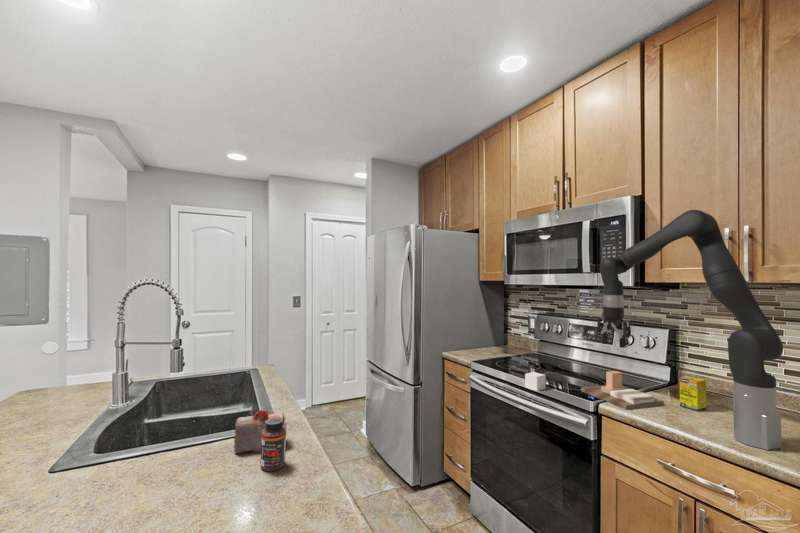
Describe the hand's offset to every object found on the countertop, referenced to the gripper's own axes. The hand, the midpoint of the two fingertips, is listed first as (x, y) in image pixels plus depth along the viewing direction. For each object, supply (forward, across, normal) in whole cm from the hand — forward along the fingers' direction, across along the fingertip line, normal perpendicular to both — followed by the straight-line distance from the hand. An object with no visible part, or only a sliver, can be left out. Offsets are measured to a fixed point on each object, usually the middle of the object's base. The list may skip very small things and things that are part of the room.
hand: (613, 345), depth 150 cm
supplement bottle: (+20, -22, +131) cm, 134 cm away
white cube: (+21, +17, +25) cm, 37 cm away
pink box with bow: (+21, -10, +135) cm, 137 cm away
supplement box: (+21, -19, -17) cm, 33 cm away
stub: (+19, -1, 0) cm, 19 cm away
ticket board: (+20, -3, 0) cm, 21 cm away
